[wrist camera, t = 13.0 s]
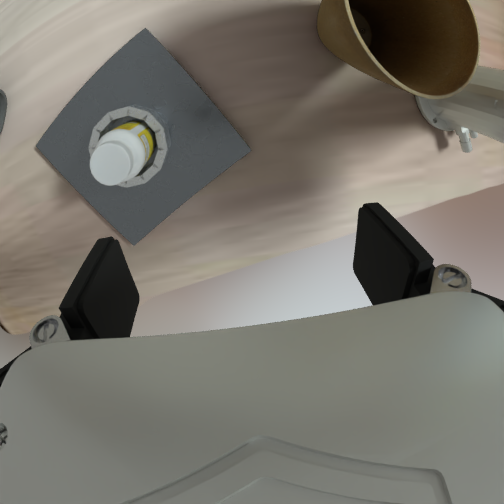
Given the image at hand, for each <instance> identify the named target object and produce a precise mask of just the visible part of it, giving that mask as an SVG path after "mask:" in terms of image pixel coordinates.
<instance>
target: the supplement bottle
mask: <svg viewBox="0 0 504 504" xmlns="http://www.w3.org/2000/svg"><path fill="white" fill-rule="evenodd" d="M155 146H156V137H155V134H154V132H153V130H152V129H151V127H150V126H149V125H147V124H146V123H144V122H141V121H129V122H126V123H124V124H122V125H120V126H118V127H117V128H115V129H113V130H111V131H109V132H108V133H106V134H105V135H104V136H102V137H101V139H100V140H99V141H98V143H97V145H96V147H95V150H94V152H93V153H92V156H91V158H90V170H91V173H92V175H93V176H94V178H95V179H96V180H97V181H98V182H100V183H101V184H104V185H108V186H113V185H117V184H119V183H121V182H126V181H128V180H131V179H132V178H134V177H135V176H136V175H137V174H138V173H139V172H140V171H141V169H142V168H143V167H144V165H145V164H146V162H147V161H148V160H149V158H150V157H151V155H152V154H153V152H154V149H155Z"/></svg>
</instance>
